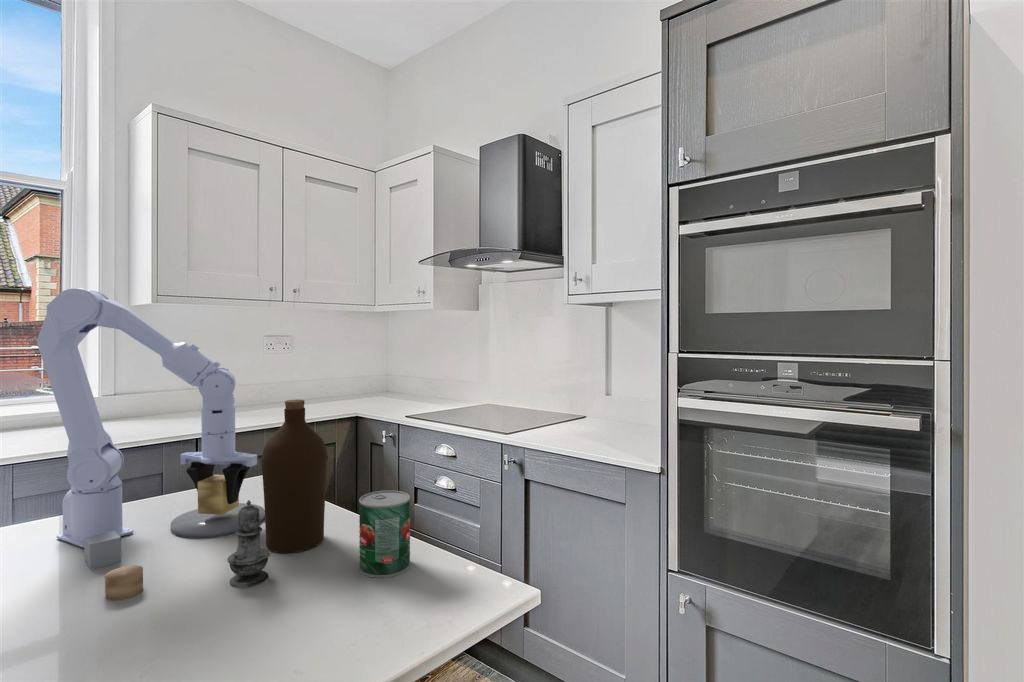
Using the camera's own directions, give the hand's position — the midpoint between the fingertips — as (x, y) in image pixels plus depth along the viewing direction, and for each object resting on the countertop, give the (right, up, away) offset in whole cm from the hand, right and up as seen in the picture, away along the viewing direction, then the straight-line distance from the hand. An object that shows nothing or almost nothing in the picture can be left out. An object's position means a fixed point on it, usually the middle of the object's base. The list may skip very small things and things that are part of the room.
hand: (219, 501), depth 105 cm
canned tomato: (+36, -5, -19) cm, 41 cm away
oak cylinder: (+1, -5, -28) cm, 28 cm away
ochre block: (0, -2, 0) cm, 2 cm away
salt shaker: (+17, -5, -23) cm, 29 cm away
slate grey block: (-9, -5, -18) cm, 20 cm away
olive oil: (+19, -5, -10) cm, 21 cm away
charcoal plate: (0, -4, 0) cm, 4 cm away
